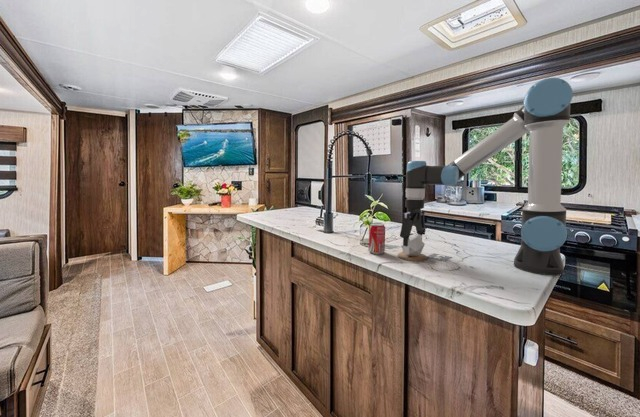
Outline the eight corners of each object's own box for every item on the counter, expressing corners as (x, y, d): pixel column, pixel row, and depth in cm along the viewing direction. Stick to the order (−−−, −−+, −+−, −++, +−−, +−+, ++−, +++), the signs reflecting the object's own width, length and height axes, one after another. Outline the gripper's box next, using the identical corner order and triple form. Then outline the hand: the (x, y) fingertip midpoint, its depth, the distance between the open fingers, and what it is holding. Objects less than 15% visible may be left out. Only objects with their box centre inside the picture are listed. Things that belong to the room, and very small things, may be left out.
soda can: (386, 252, 133) (387, 223, 131) (381, 255, 127) (382, 226, 125) (372, 249, 137) (372, 222, 135) (365, 253, 131) (366, 224, 129)
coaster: (432, 257, 125) (432, 256, 125) (418, 263, 117) (418, 261, 117) (406, 251, 134) (406, 250, 134) (392, 256, 126) (392, 255, 125)
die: (420, 260, 119) (431, 239, 121) (400, 248, 120) (411, 228, 122) (413, 261, 127) (423, 242, 129) (394, 250, 128) (405, 231, 130)
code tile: (452, 257, 125) (452, 257, 125) (444, 261, 120) (444, 260, 120) (434, 253, 131) (434, 253, 131) (425, 257, 125) (425, 256, 125)
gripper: (419, 196, 133) (417, 245, 135) (392, 199, 117) (390, 254, 120) (435, 197, 127) (432, 248, 130) (409, 201, 112) (406, 258, 115)
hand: (412, 251), depth 125 cm, fingers closed on die, 9 cm apart
